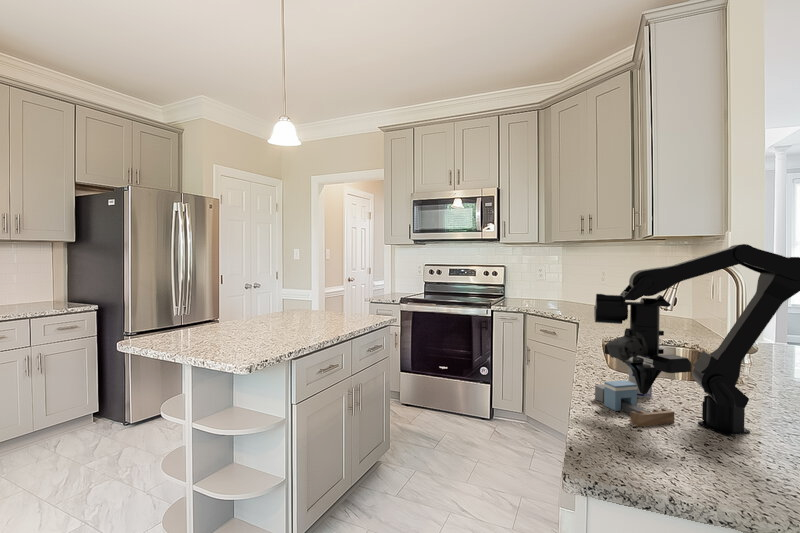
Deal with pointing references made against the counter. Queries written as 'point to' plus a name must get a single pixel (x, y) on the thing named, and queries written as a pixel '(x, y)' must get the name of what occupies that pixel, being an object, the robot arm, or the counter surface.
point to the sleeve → (619, 394)
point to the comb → (652, 417)
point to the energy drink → (633, 380)
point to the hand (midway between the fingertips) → (643, 393)
